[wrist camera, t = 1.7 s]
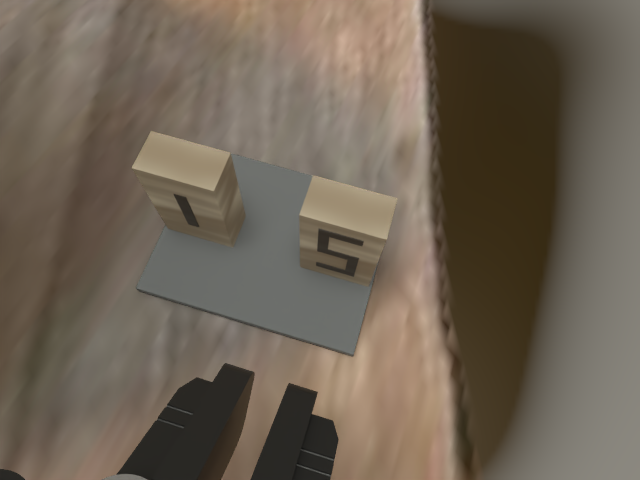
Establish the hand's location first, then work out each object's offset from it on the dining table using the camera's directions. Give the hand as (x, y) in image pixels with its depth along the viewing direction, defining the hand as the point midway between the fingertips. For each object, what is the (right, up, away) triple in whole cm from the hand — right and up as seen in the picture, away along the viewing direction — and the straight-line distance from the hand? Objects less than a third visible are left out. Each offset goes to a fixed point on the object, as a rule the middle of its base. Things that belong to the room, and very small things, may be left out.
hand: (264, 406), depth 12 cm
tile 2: (+3, +3, +20) cm, 20 cm away
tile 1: (-6, +5, +21) cm, 22 cm away
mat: (-2, +4, +21) cm, 21 cm away
